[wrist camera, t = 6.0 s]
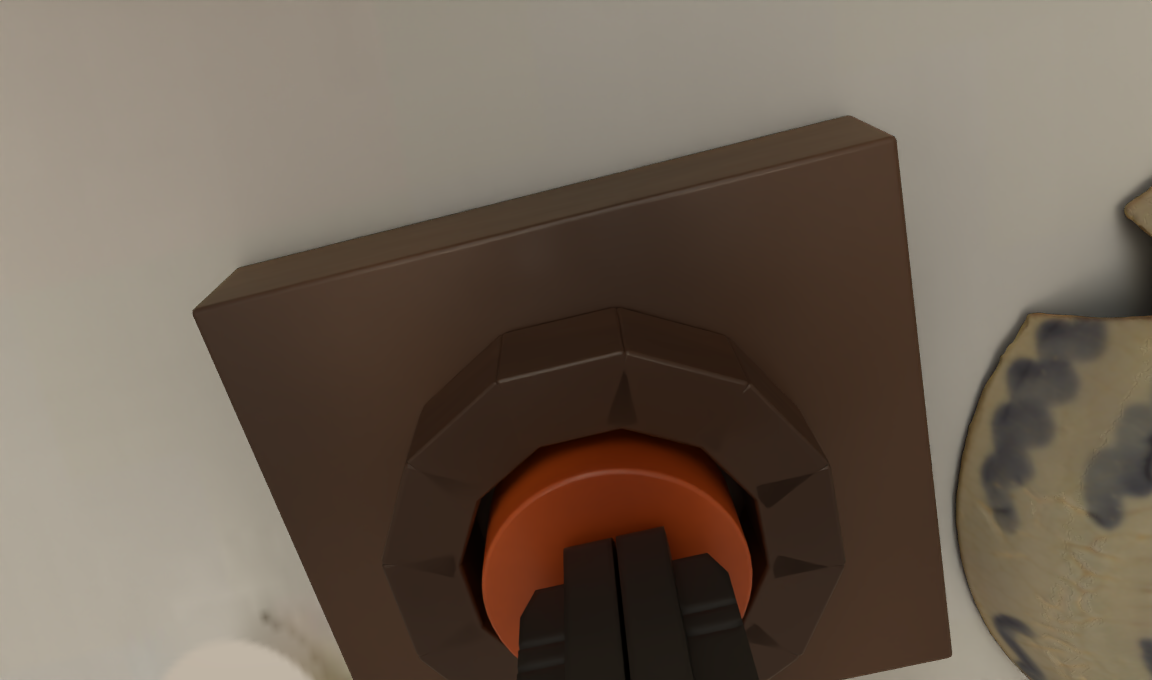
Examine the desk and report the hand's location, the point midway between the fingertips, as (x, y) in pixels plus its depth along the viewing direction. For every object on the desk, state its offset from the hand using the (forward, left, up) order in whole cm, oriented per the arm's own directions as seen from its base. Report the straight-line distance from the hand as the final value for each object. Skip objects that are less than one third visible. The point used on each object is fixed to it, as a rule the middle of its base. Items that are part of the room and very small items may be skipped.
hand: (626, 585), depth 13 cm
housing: (0, 0, -5) cm, 5 cm away
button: (0, 0, -2) cm, 2 cm away
